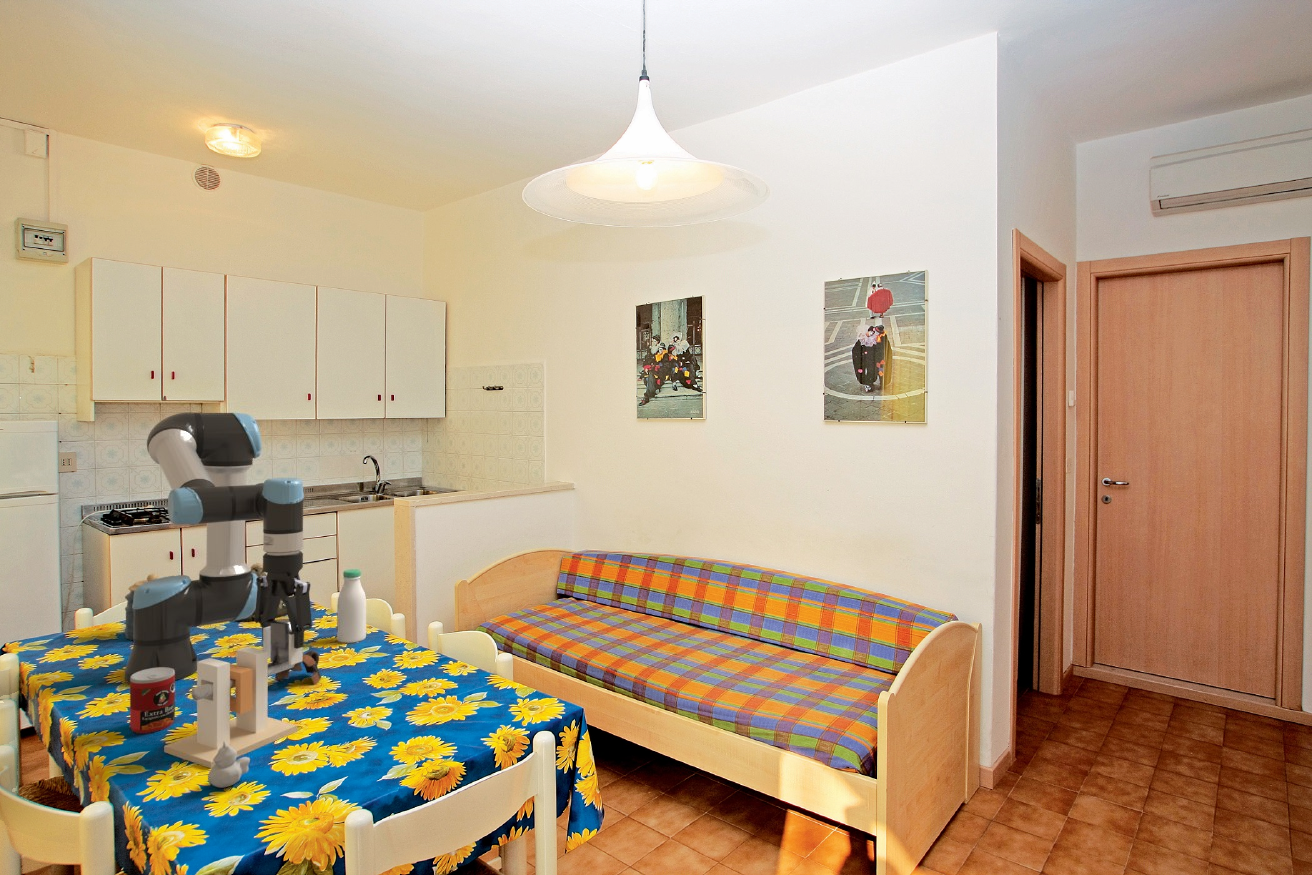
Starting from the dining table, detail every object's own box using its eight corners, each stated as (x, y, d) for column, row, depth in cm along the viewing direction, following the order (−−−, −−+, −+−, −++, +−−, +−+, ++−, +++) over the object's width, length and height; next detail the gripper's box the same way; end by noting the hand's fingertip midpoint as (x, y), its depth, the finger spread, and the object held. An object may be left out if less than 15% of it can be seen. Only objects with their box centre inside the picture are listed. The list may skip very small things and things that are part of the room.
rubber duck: (203, 785, 128) (203, 740, 128) (243, 772, 133) (244, 728, 133) (214, 796, 125) (214, 749, 125) (255, 782, 130) (255, 737, 129)
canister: (168, 625, 222) (168, 567, 221) (187, 633, 214) (187, 573, 214) (117, 635, 211) (117, 574, 211) (135, 644, 204) (135, 581, 203)
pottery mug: (312, 691, 173) (293, 663, 171) (280, 705, 175) (260, 678, 173) (336, 662, 185) (318, 635, 183) (306, 675, 187) (288, 649, 185)
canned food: (141, 737, 146) (141, 682, 146) (122, 727, 151) (122, 674, 150) (182, 724, 153) (182, 671, 153) (163, 715, 157) (163, 664, 157)
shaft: (203, 702, 137) (203, 647, 137) (187, 698, 139) (187, 643, 139) (299, 668, 156) (299, 620, 156) (284, 665, 158) (285, 617, 158)
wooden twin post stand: (164, 752, 140) (164, 664, 140) (251, 717, 157) (251, 638, 156) (211, 768, 134) (211, 676, 134) (297, 731, 150) (297, 649, 150)
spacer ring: (213, 706, 146) (214, 666, 146) (225, 701, 148) (226, 662, 148) (240, 713, 142) (240, 673, 142) (252, 709, 145) (252, 669, 144)
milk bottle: (371, 638, 213) (372, 569, 212) (348, 645, 206) (348, 574, 206) (355, 633, 217) (355, 566, 216) (331, 640, 210) (331, 570, 210)
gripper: (234, 550, 155) (234, 657, 156) (300, 559, 147) (300, 673, 147) (267, 544, 162) (266, 647, 163) (332, 553, 153) (331, 662, 154)
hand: (282, 659), depth 155 cm, fingers open, 7 cm apart
